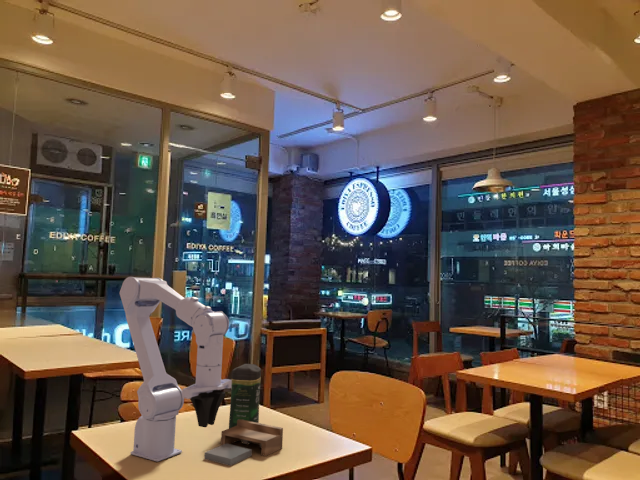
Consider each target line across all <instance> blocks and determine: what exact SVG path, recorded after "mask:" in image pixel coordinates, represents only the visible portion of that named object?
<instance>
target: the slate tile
mask: <svg viewBox="0 0 640 480" xmlns="http://www.w3.org/2000/svg"><path fill="white" fill-rule="evenodd" d="M252 454H253V449H252V448H247V447H244V446H239V445H235V444H227V443H226V444H224V445H221V444H220V445H219V446H217V447H214V448H212V449H209V450H207V451H204V456H203V457H204V458H203V459H204V460H208V461H210V462H215V463H217V464H218V463H219V464H222V465H226V466H229V467H231V466H233V465H235V464H238V463H240V462H241V461H244V460H246V459H248V458H250V457H252V456H253V455H252Z"/></svg>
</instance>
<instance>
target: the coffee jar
mask: <svg viewBox="0 0 640 480" xmlns="http://www.w3.org/2000/svg"><path fill="white" fill-rule="evenodd" d="M261 375H262V368H261V367H259V366H258V365H257V364H254V363H253V364H252V363H243V364H242V365H239V366H238V367H235V368H234V369H232V371H231V379H230V380H232V385H231V388H230V389H231V391H230V404H229V405H230V407H229V419H228V429H229V428H232V427H235V426H237V420H239V419H241V420H246V421H251V422H256V423H260V421H259V420H260V419H259V415H260V393H261V379H262V376H261Z"/></svg>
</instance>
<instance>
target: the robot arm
mask: <svg viewBox="0 0 640 480" xmlns="http://www.w3.org/2000/svg"><path fill="white" fill-rule="evenodd" d="M119 296H120V299H121V300H120V301H121V303H122V306H123V310H124V313H125V318H126V322H127V326H128V330H129V333H130V337H131V340H132V344H133V347H134V350H135V354H136V358H137V361H138V364H139V368H140V372H141V375H142V378H143V382H142V383H141V385H139V387H138V389H137V390H136V393H137V397H138V401H137V405H138V410H139V411H138V412H139V413H140V414H141V416H139V417H138V419H137V421H136V422H135V424H134V435H133V448H132V449H133V450H131V451H130V453H129V454H131V455H133V456H136V457H138V458H139V457H140V458H144V459H147V460H150V461H154V462H161V461H164V460H165V459H168V458H171V457H174V456H176V455H179V454H181V453H182V452H183V451H182V450H181V449H179V448H175V444H176V443H175V441H176V423H177V422H176V420H177V416H178V415H179V413H180V410H181V409H182V408H183V406H184V403H185V399H186V400H190V401H191V403H192V406H193V408H194V410H195V414H196V420H197V425H198V427H200V428H207V427H208V425H209V426H210V425H211V426H213V425H214V424H215V421H216V418H217V415H218V411H219V410H220V409H219V408H220V406H221V404H222V402H223V400H224V399H225V397H226V392H225V391H222V390H224V389H231V385H232V380H231V379H229V378H224V379H222V370H223V369H222V367H223V365H222V364H223V347H224V336H225V335H226V334H227V332H228V331H229V329H230V321H229V317H228V316H227V314H225V313H224V312H223V311H222V310H219V311H218V310H217V311H213V310H212V307H211V306H209V305H207V306H206V305H204V304H203V303H202V302H199V298H198V297H196V296H187V297H184V296H182V295H181V294H180V293H178V291H176V290H174V288H172V287H171V286H169V285H168V281H166V280H163V279H162V278H160V277H134V276H127V277H126V278H125V279H124V280H123V282H122V285H121V288H120V291H119ZM160 303H162V304H165V305H167V306H168V307H170V308H172V309H173V310H175V315H176V317H177V318H178V319H180V320H181V321H183V322H184V323H186V324H187V325H188V326H190V327H192V330H193V331H192V332H193V333H194V335H195V343H196V345H197V349H196V351H197V352H196V369H195V372H196V373H195V383H193V384H191V385H189V386H187V387H185V388H181V387H180V386H179V384H178V382H177V379H176V378H174V377H173V376H171V375H170V374H168V373H167V372H166V368H165V365H164V362H163V361H164V360H163V359H162V355H161V351H160V348H159V345H158V341H157V338H156V335H155V332H154V328H153V325H152V322H151V319H150V316H151V314H152V313H154V312H155V310H156V308H157V307H158V306H159V305H160Z"/></svg>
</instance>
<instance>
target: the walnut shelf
mask: <svg viewBox="0 0 640 480" xmlns="http://www.w3.org/2000/svg"><path fill="white" fill-rule="evenodd" d="M283 431H284V428H283V427H280V426H275V425H271V424H265V423H260V422H259V423H256V422H251V421H246V420H241V419H239V420H237V426H235V427H232V428H229V427H228V428H227V429H225V430H222V431H221V434H220V435H221V437H220V438H221V439H220V446H221V445H224V444H226V443H227V444H231V445H233V444H234V443H236V442H239V441H241V444H245V445H249V444H255V445H259V448H261V450H260V451H261V453H260V455H261V456H262V457H267V456H269V455H270V454H273V453H275V452H277V451H279V450H281V449H283V441H284V440H283V439H284V438H283V433H284V432H283Z"/></svg>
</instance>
